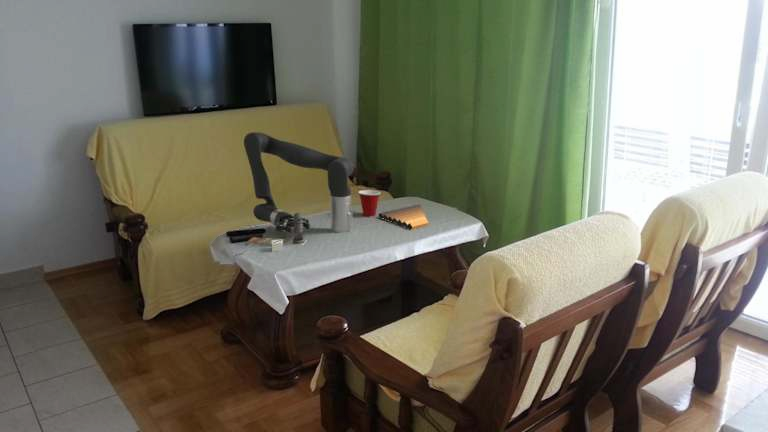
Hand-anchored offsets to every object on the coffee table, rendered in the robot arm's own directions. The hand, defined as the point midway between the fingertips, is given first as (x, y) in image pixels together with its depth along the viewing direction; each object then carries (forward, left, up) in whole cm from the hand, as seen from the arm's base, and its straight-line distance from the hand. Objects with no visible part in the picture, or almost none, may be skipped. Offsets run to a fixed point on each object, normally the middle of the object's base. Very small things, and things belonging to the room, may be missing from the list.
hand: (299, 228), depth 257 cm
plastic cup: (-21, -49, -8) cm, 54 cm away
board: (+10, -1, -7) cm, 13 cm away
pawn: (+1, -1, -6) cm, 6 cm away
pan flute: (-44, -46, -8) cm, 64 cm away
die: (+7, +9, -7) cm, 14 cm away
